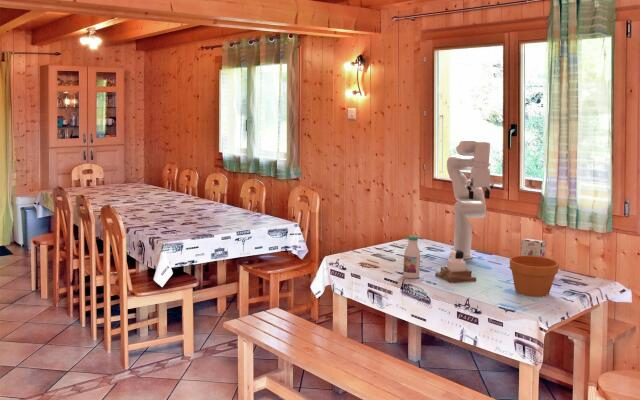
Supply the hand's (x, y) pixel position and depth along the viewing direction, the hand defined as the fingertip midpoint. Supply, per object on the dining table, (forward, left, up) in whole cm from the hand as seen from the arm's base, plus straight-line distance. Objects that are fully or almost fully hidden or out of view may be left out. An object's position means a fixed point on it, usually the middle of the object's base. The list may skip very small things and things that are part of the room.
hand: (478, 198), depth 329 cm
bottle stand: (+16, -22, -36) cm, 45 cm away
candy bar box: (+14, +25, -36) cm, 46 cm away
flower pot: (+47, -2, -36) cm, 60 cm away
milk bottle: (+8, -42, -36) cm, 56 cm away
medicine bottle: (+16, -22, -35) cm, 44 cm away
